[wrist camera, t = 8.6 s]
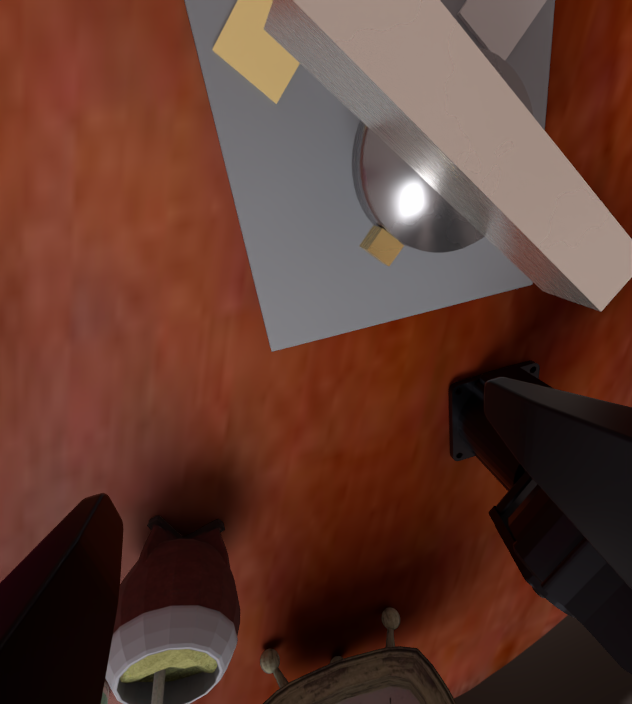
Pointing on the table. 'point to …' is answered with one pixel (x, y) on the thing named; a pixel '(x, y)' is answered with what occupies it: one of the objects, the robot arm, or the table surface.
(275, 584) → the table surface
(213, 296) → the table surface
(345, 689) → the tabletop clock
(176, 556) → the mate gourd
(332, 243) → the base
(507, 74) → the handle
